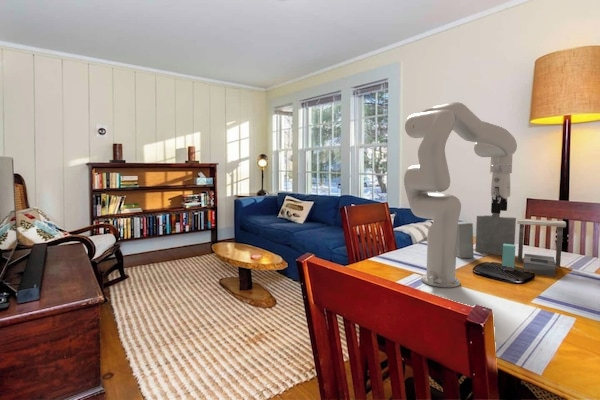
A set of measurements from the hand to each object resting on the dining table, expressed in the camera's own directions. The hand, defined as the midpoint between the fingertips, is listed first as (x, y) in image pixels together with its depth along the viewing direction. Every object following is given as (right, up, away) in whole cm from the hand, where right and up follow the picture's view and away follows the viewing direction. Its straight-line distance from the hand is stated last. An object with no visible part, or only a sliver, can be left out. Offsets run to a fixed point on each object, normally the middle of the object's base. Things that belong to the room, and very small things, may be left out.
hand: (499, 211), depth 138 cm
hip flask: (+11, -21, +22) cm, 32 cm away
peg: (+2, -23, -3) cm, 23 cm away
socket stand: (+15, -23, -2) cm, 27 cm away
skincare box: (-7, -21, +18) cm, 29 cm away
